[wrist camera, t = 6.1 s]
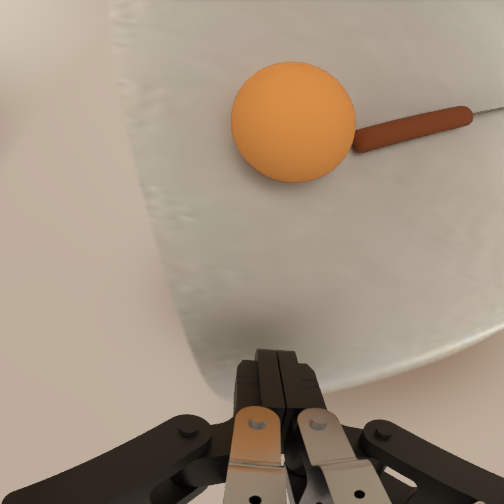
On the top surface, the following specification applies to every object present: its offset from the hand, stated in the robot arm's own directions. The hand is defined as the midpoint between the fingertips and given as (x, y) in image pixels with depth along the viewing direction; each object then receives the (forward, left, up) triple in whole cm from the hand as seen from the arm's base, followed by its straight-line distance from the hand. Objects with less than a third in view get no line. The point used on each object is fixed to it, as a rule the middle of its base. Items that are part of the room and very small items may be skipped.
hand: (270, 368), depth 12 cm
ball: (0, -10, -5) cm, 11 cm away
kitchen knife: (-11, -13, -8) cm, 19 cm away
